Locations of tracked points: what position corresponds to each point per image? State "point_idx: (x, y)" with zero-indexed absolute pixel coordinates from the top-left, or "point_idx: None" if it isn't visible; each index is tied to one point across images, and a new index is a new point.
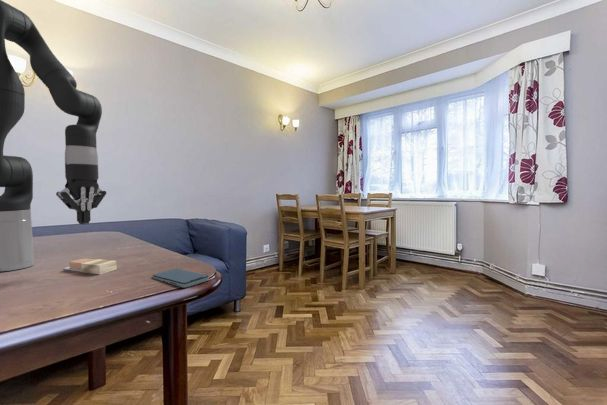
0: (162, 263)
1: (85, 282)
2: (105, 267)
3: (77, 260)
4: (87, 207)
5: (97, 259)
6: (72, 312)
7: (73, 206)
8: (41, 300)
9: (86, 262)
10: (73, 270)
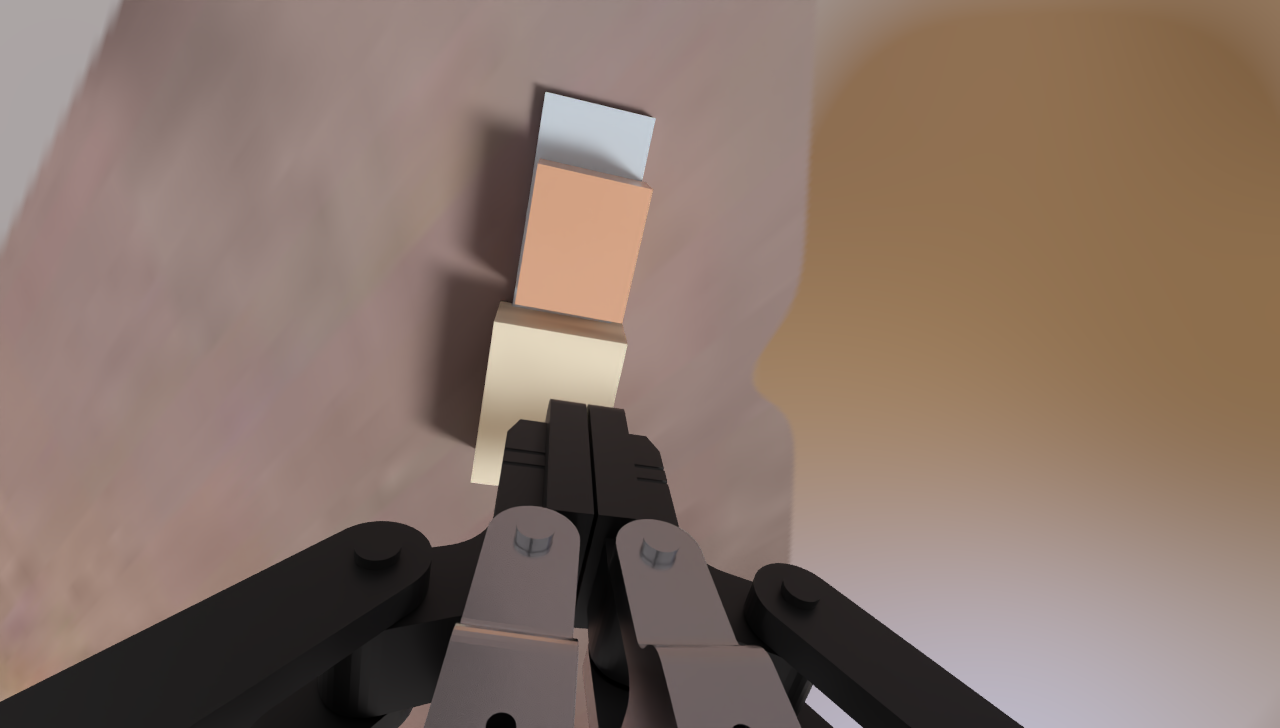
0: None
1: (335, 485)
2: None
3: (584, 198)
4: (587, 693)
5: (618, 343)
6: None
7: (287, 714)
8: (53, 507)
9: (527, 334)
10: (529, 202)
